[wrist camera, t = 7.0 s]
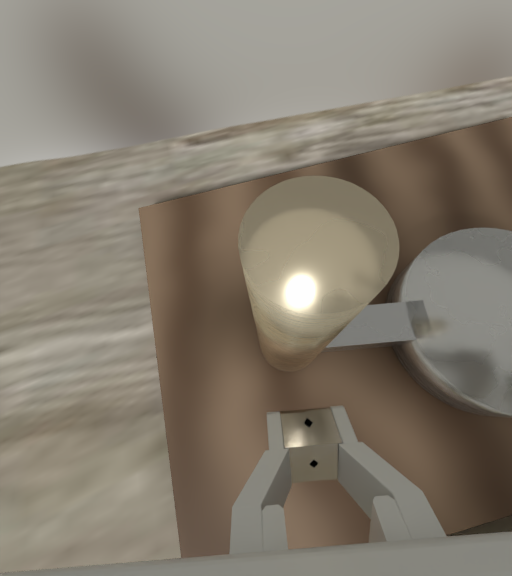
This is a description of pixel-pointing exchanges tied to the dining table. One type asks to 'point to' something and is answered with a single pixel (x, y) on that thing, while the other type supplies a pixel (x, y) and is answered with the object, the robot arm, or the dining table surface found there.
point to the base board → (327, 365)
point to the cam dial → (370, 281)
